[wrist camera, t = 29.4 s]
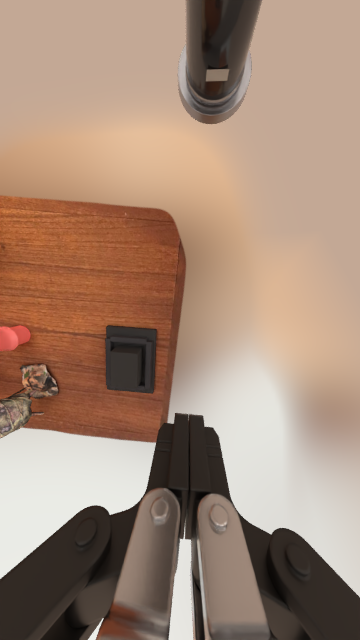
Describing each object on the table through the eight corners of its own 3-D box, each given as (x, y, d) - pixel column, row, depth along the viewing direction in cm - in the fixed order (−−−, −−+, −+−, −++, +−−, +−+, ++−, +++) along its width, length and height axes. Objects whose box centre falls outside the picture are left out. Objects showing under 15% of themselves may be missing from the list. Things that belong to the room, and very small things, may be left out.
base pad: (108, 325, 37) (102, 328, 34) (156, 329, 36) (154, 332, 34) (109, 386, 40) (103, 393, 37) (154, 390, 39) (151, 398, 37)
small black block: (118, 344, 36) (110, 351, 32) (143, 346, 36) (137, 353, 32) (118, 375, 38) (110, 386, 34) (142, 377, 37) (136, 388, 33)
